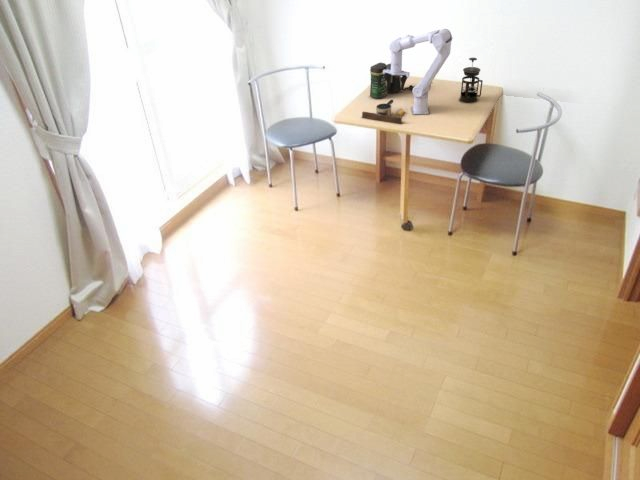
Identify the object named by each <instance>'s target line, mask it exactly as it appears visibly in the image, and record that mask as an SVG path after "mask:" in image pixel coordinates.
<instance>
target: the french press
mask: <svg viewBox="0 0 640 480" xmlns="http://www.w3.org/2000/svg"><path fill="white" fill-rule="evenodd" d="M468 60H469V61H471V66H468V67H464V68H463V69H462V72H463V74H464V77H462V79H461V89H460V98H459V101H460V102H461V103H464V104H475V103H476V102H477V101H478V98H480V97H481V96H482V91H483V82H484V81H483V80H482V79H480V77H478V76H479V75H480V72H481V68H479V67H476V66H473V65H474V62H475V61H477V60H478V58H477V57H469V58H468ZM467 79H470V80H469V81H468V80H467ZM464 84H465V86H464ZM475 84H476V86H475ZM479 85H480V87H479ZM478 92H479V94H478Z"/></svg>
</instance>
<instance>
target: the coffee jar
mask: <svg viewBox="0 0 640 480" xmlns="http://www.w3.org/2000/svg"><path fill="white" fill-rule="evenodd" d="M369 69H370V71H369V72H370V88H369V96H370V97H371V99H382V98H383V97H385V96H387V92H386V80H385V78H384V75H385V74H383V70H384V69H386V70H387V64H386V63H385V62H378V63H375V64H374V65H371V66H370V68H369Z"/></svg>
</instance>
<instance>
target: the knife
mask: <svg viewBox="0 0 640 480" xmlns="http://www.w3.org/2000/svg"><path fill="white" fill-rule="evenodd" d="M404 113H405V110H404V109H400V110H399V111H398V112H397V115H396V116H395V117H401V118H402V116H403V114H404Z"/></svg>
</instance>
